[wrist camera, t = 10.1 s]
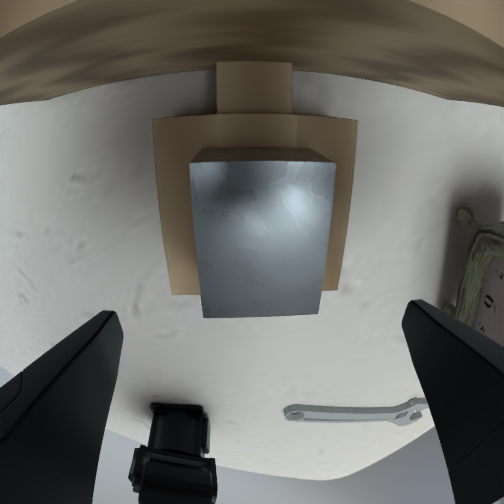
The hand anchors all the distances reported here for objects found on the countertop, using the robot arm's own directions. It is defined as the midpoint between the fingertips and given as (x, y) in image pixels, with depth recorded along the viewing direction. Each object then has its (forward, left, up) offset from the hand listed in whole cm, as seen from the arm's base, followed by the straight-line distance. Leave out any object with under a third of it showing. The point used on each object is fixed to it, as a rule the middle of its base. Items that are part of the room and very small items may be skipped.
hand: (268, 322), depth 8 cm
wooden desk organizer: (0, +3, -13) cm, 13 cm away
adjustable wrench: (+16, -29, -14) cm, 36 cm away
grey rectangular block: (0, 0, -12) cm, 12 cm away
